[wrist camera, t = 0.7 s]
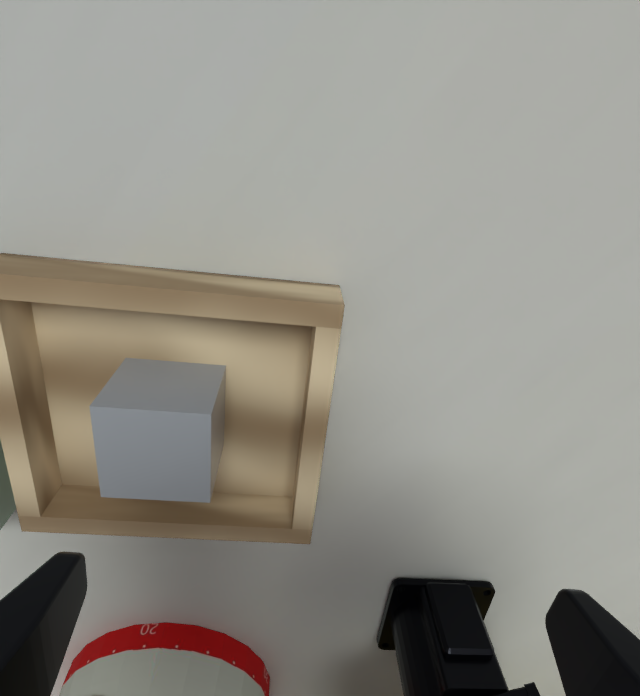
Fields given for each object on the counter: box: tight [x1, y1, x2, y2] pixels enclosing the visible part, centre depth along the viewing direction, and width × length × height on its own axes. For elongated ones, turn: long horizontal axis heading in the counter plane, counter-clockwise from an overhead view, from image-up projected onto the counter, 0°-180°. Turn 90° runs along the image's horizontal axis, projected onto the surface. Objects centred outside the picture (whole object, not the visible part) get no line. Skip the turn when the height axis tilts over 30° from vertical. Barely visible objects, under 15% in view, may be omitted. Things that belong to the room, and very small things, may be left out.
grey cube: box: [89, 358, 226, 503], centre depth 20 cm, size 4×4×4 cm
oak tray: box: [0, 253, 345, 544], centre depth 21 cm, size 13×14×2 cm
